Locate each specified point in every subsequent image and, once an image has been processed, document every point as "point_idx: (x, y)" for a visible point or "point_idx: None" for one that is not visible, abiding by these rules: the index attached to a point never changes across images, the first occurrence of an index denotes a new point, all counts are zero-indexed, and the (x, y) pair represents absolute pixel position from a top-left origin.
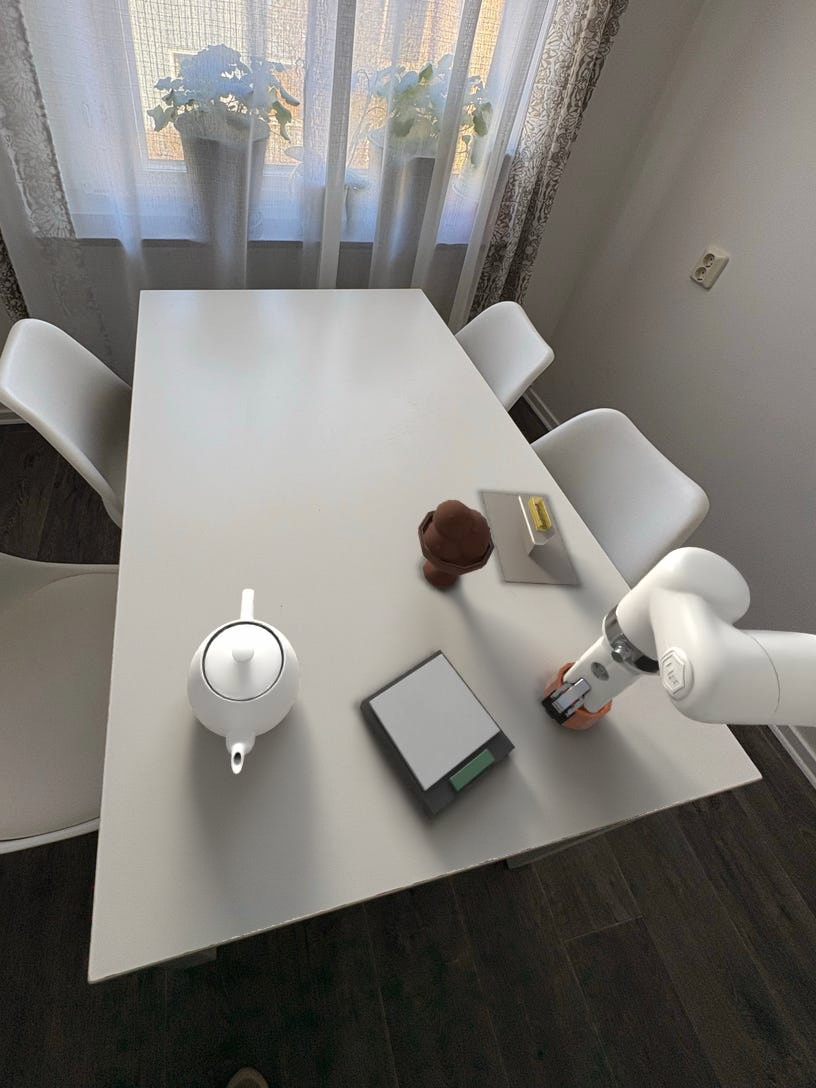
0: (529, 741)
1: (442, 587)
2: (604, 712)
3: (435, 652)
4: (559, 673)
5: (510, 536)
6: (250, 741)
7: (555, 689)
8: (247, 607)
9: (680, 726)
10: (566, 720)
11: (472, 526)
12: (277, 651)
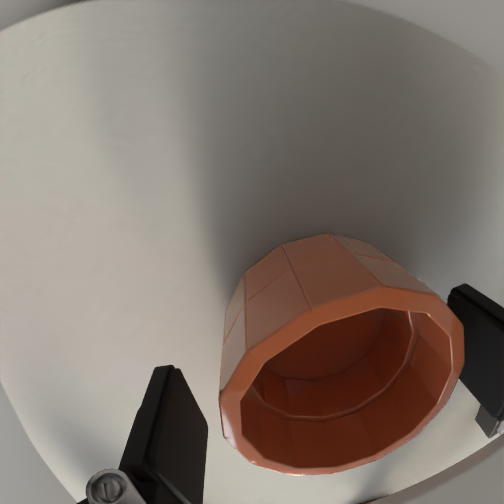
0: (476, 255)
1: (376, 499)
2: (358, 303)
3: (496, 433)
4: (392, 449)
5: None
6: None
7: (499, 421)
8: None
9: (3, 155)
10: (499, 305)
11: None
12: None
